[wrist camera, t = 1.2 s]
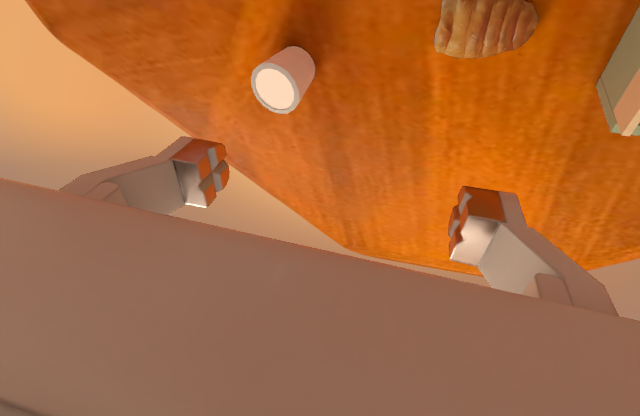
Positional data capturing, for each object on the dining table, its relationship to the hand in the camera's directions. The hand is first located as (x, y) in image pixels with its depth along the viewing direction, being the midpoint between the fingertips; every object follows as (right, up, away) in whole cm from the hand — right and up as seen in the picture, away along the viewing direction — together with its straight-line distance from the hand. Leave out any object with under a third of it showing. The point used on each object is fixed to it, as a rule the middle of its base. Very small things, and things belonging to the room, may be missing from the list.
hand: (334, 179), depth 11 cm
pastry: (+16, +19, +23) cm, 34 cm away
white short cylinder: (-4, +19, +35) cm, 40 cm away
